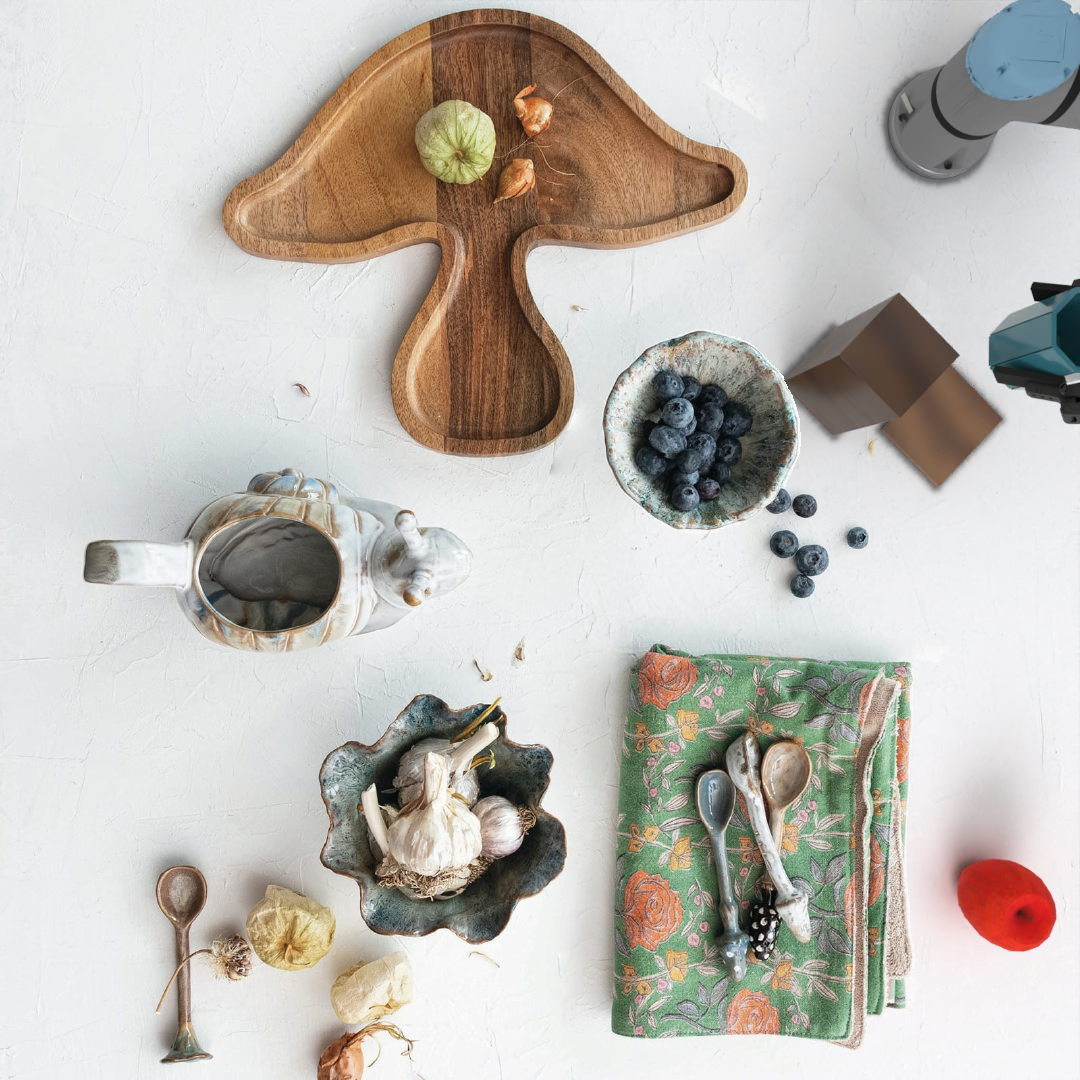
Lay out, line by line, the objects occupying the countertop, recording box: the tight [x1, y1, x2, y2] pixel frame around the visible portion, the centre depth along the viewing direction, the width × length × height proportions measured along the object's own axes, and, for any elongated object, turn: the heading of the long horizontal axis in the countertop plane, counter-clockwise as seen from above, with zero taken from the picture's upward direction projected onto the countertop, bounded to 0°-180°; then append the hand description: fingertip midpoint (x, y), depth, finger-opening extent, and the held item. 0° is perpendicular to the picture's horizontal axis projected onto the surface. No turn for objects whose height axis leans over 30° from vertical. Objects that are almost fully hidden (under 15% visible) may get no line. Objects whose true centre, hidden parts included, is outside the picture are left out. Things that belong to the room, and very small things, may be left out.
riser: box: [783, 292, 961, 436], centre depth 115 cm, size 11×11×20 cm
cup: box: [988, 287, 1080, 391], centre depth 86 cm, size 8×8×10 cm
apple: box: [956, 858, 1057, 953], centre depth 121 cm, size 12×12×13 cm
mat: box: [879, 364, 1004, 488], centre depth 125 cm, size 14×12×1 cm
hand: (1015, 332), depth 88 cm, fingers closed on cup, 9 cm apart
